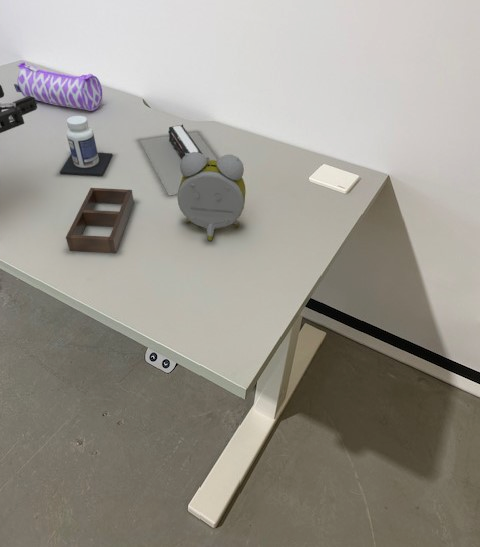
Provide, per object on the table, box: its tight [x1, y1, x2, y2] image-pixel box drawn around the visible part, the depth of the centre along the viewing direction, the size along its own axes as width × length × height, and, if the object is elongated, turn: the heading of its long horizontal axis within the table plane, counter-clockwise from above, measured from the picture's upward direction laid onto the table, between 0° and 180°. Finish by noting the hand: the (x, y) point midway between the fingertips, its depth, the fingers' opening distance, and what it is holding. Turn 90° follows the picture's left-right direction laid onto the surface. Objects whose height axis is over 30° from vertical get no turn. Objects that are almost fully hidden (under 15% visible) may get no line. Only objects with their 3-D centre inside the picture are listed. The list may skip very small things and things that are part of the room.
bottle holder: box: [65, 187, 135, 254], centre depth 77 cm, size 8×15×3 cm, turn 179°
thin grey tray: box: [139, 123, 218, 196], centre depth 94 cm, size 14×25×4 cm, turn 23°
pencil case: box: [13, 61, 103, 112], centre depth 111 cm, size 22×9×10 cm, turn 72°
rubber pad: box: [59, 152, 113, 177], centre depth 92 cm, size 9×9×1 cm
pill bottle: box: [66, 115, 99, 168], centre depth 89 cm, size 5×5×10 cm
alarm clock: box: [177, 152, 247, 241], centre depth 73 cm, size 12×7×15 cm, turn 86°
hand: (17, 95), depth 73 cm, fingers open, 8 cm apart
